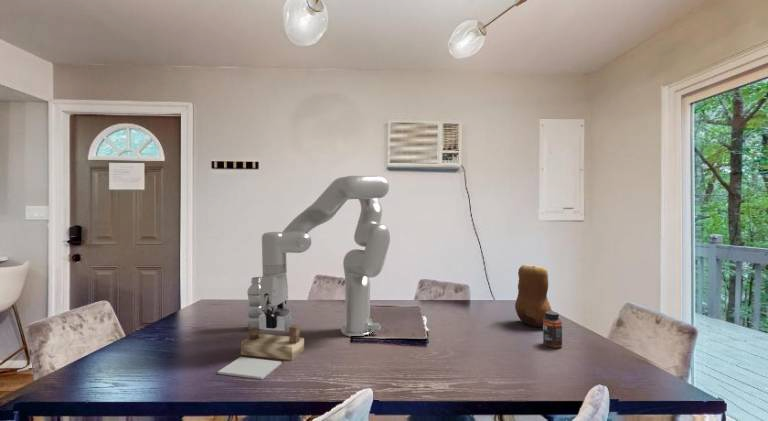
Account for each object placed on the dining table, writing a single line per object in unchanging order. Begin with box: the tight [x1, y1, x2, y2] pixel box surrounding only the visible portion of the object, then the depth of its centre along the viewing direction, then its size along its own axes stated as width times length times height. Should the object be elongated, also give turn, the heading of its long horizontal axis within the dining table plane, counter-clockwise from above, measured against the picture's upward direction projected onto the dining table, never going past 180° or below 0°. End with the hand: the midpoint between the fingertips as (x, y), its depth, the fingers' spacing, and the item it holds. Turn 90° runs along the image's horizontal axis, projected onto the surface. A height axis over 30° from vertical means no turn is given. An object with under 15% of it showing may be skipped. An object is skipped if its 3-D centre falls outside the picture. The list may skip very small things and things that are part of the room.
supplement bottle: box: [542, 311, 563, 349], centre depth 116 cm, size 6×6×11 cm
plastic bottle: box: [246, 276, 264, 330], centre depth 132 cm, size 6×7×20 cm
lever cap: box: [259, 308, 293, 332], centre depth 109 cm, size 9×5×6 cm, turn 77°
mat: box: [217, 356, 282, 380], centre depth 97 cm, size 14×10×1 cm
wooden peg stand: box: [240, 324, 305, 361], centre depth 109 cm, size 18×8×9 cm, turn 77°
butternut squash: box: [514, 263, 553, 328], centre depth 138 cm, size 14×13×25 cm
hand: (275, 324), depth 109 cm, fingers closed on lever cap, 5 cm apart
